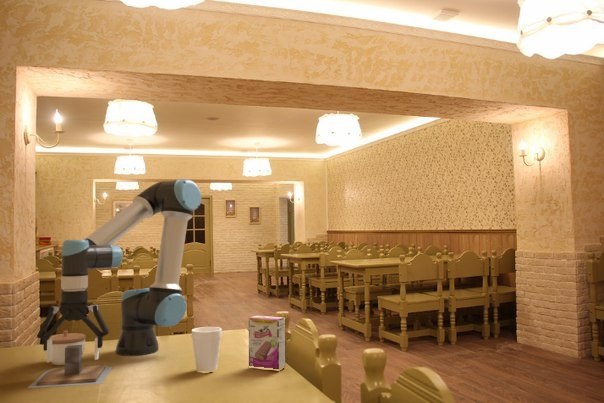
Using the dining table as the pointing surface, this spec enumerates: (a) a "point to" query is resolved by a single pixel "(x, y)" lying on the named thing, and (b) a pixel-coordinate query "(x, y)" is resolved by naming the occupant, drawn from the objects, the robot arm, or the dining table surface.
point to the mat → (99, 381)
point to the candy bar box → (267, 342)
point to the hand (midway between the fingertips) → (73, 360)
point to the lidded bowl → (64, 345)
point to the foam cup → (206, 347)
